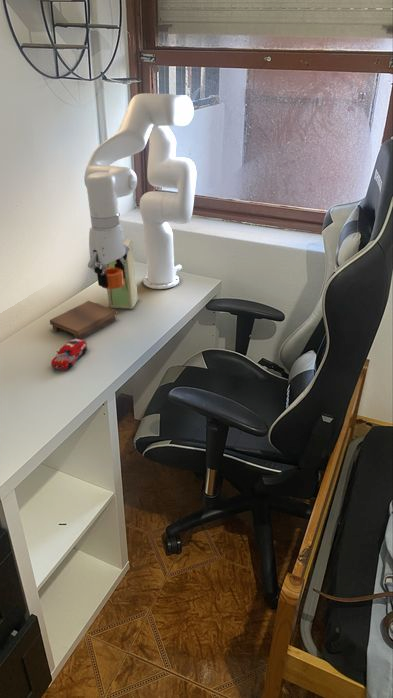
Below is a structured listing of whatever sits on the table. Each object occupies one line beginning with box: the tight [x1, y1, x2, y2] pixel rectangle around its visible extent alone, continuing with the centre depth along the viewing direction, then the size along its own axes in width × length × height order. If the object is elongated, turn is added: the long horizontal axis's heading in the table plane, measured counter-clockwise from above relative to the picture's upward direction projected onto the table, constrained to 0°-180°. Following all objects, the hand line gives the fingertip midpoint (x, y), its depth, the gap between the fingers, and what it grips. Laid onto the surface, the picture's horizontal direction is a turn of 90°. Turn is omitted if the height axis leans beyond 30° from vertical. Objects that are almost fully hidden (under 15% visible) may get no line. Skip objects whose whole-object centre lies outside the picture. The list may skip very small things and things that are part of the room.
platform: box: [49, 300, 118, 340], centre depth 159 cm, size 16×12×4 cm
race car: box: [50, 338, 88, 371], centre depth 142 cm, size 13×5×4 cm, turn 161°
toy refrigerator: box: [106, 238, 139, 310], centre depth 166 cm, size 8×7×21 cm
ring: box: [102, 267, 124, 290], centre depth 150 cm, size 6×6×4 cm
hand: (112, 281), depth 151 cm, fingers closed on ring, 6 cm apart
